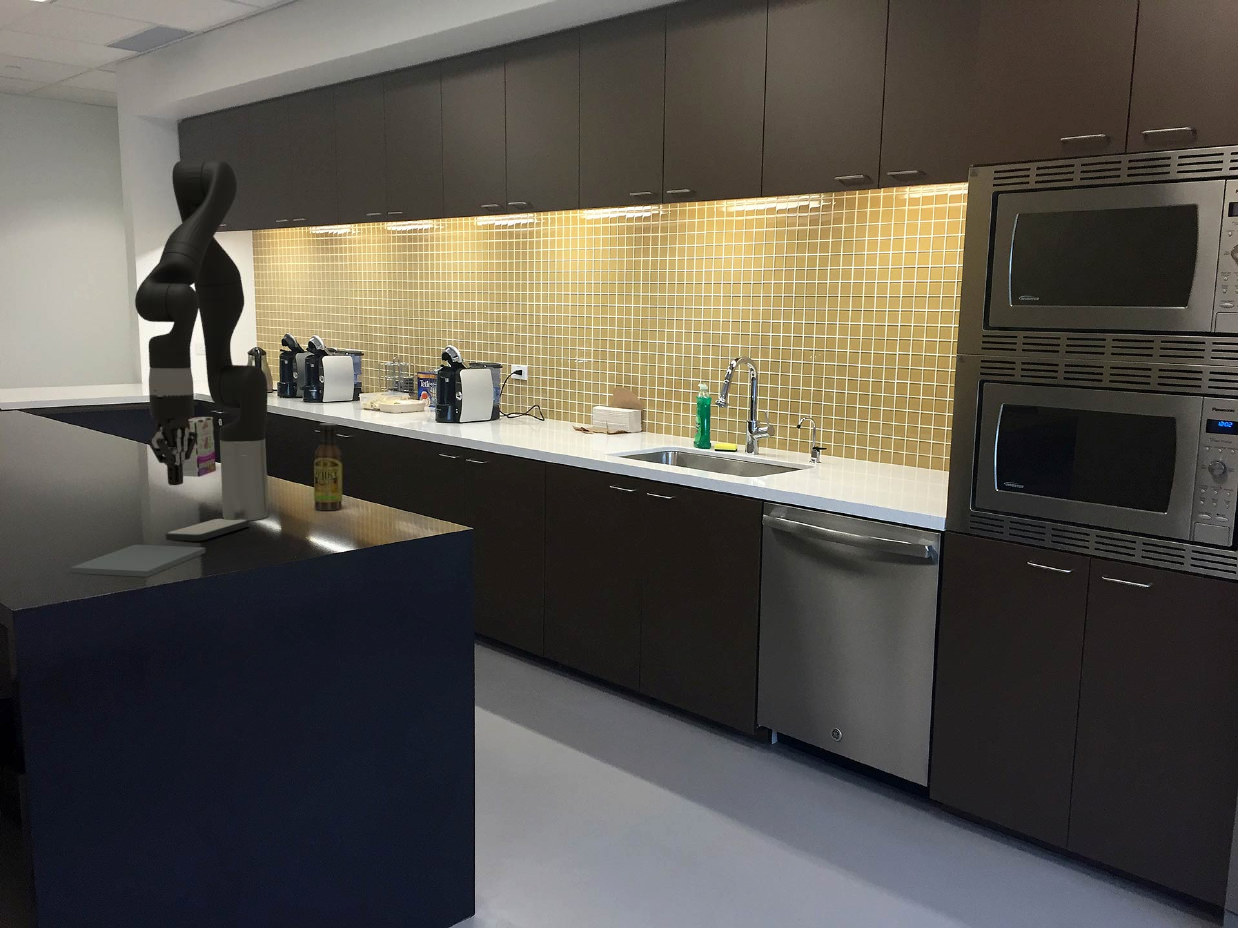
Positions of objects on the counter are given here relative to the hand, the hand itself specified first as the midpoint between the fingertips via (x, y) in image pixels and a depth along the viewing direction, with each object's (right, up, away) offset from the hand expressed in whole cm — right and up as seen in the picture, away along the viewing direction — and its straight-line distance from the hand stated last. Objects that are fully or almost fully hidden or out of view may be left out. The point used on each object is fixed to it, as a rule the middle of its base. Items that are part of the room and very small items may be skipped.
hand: (175, 484), depth 185 cm
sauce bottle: (+16, -7, +43) cm, 46 cm away
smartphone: (-2, -11, +7) cm, 13 cm away
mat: (-2, -14, -10) cm, 17 cm away
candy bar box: (-32, 0, +85) cm, 90 cm away
